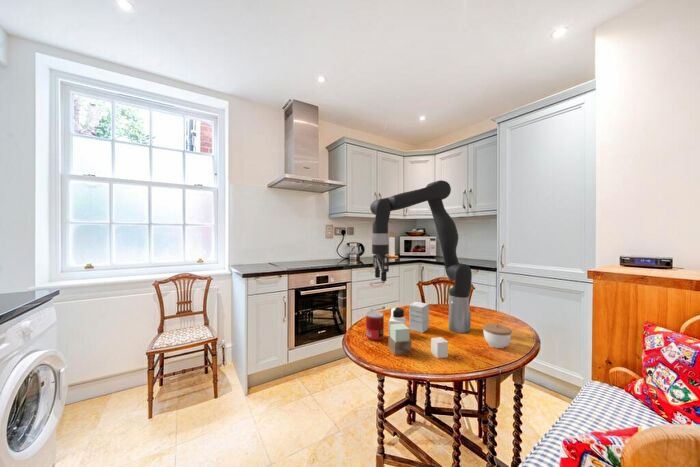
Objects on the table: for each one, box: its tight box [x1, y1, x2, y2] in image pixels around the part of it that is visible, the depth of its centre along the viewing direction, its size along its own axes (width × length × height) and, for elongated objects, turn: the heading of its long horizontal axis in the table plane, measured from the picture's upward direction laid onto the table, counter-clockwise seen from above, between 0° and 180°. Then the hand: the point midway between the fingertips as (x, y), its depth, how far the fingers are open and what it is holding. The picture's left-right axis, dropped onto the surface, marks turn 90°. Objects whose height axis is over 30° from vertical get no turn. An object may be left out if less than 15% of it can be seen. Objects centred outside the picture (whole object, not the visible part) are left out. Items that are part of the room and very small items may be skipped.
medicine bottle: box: [388, 307, 407, 336], centre depth 122 cm, size 7×7×12 cm
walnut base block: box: [387, 335, 412, 356], centre depth 106 cm, size 7×7×5 cm
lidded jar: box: [482, 322, 513, 349], centre depth 110 cm, size 11×11×9 cm
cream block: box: [430, 336, 449, 359], centre depth 102 cm, size 5×5×6 cm
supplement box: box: [408, 301, 430, 334], centre depth 128 cm, size 7×7×13 cm
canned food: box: [365, 311, 385, 342], centre depth 118 cm, size 8×8×11 cm
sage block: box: [389, 323, 411, 342], centre depth 106 cm, size 6×6×5 cm
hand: (380, 279), depth 116 cm, fingers open, 8 cm apart
